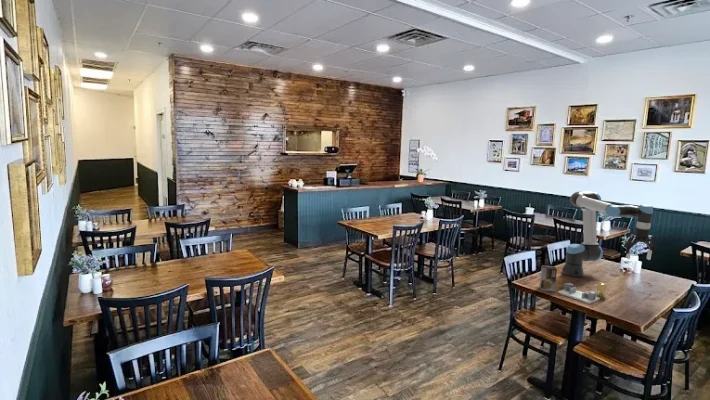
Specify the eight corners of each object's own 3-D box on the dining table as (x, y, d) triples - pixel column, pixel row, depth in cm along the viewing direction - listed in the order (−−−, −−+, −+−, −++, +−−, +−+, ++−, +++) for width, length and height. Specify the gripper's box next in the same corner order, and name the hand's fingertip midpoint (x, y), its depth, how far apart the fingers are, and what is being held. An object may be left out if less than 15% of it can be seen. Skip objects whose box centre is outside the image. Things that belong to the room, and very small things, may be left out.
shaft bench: (557, 293, 263) (558, 285, 262) (568, 289, 271) (569, 281, 270) (589, 303, 247) (590, 295, 246) (599, 299, 254) (600, 291, 254)
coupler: (594, 296, 260) (596, 283, 259) (598, 294, 263) (600, 281, 262) (603, 298, 256) (604, 285, 254) (606, 297, 259) (608, 284, 257)
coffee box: (553, 288, 271) (555, 266, 268) (554, 291, 265) (557, 269, 262) (539, 286, 274) (541, 264, 271) (540, 289, 268) (542, 267, 265)
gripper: (627, 228, 255) (622, 259, 259) (666, 230, 254) (661, 261, 258) (620, 226, 263) (615, 256, 266) (658, 227, 262) (653, 257, 265)
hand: (638, 258), depth 262 cm, fingers open, 13 cm apart
